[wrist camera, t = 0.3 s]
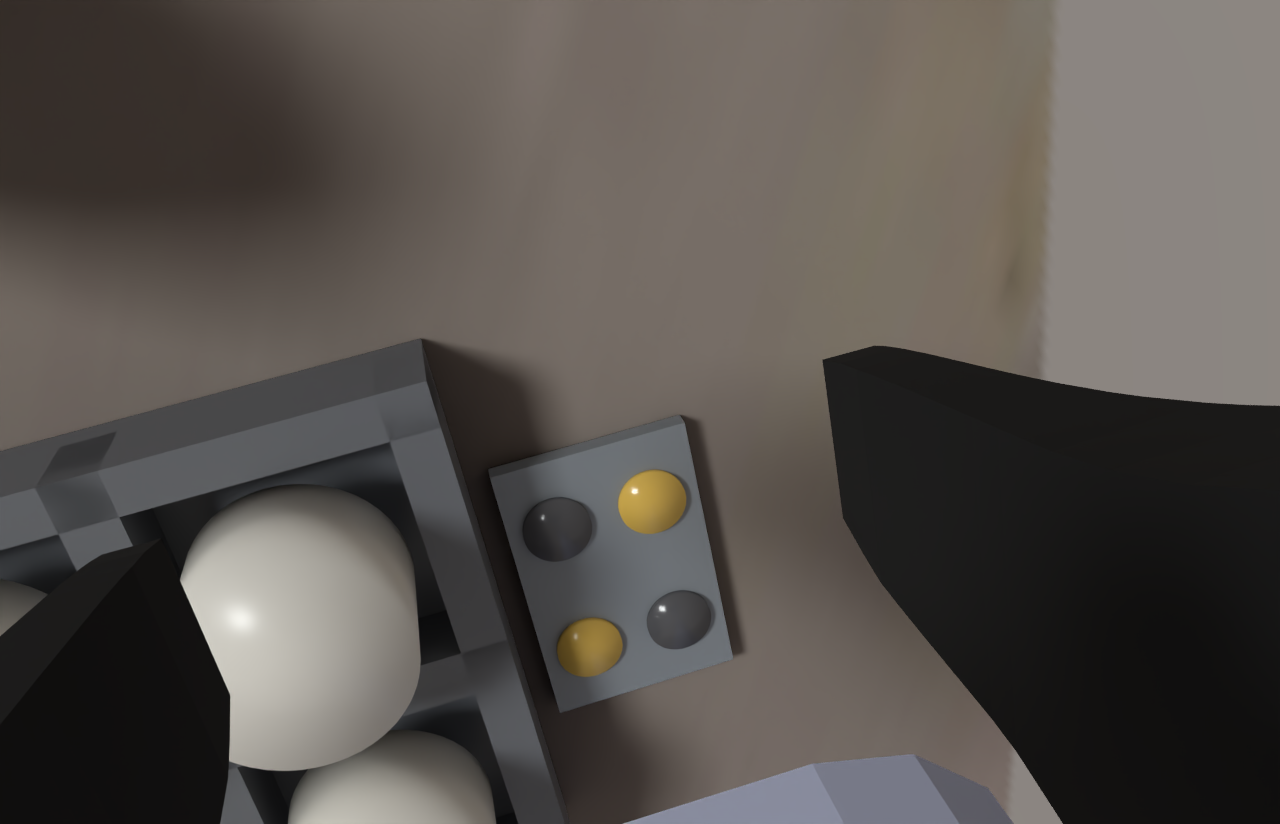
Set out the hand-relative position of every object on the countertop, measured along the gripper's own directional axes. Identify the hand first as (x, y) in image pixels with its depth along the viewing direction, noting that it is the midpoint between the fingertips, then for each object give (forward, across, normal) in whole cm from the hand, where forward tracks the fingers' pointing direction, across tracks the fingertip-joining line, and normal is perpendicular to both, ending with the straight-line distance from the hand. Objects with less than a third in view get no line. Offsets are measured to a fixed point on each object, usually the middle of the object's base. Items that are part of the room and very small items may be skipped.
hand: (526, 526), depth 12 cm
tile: (+10, -2, +7) cm, 12 cm away
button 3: (+8, +4, +4) cm, 10 cm away
